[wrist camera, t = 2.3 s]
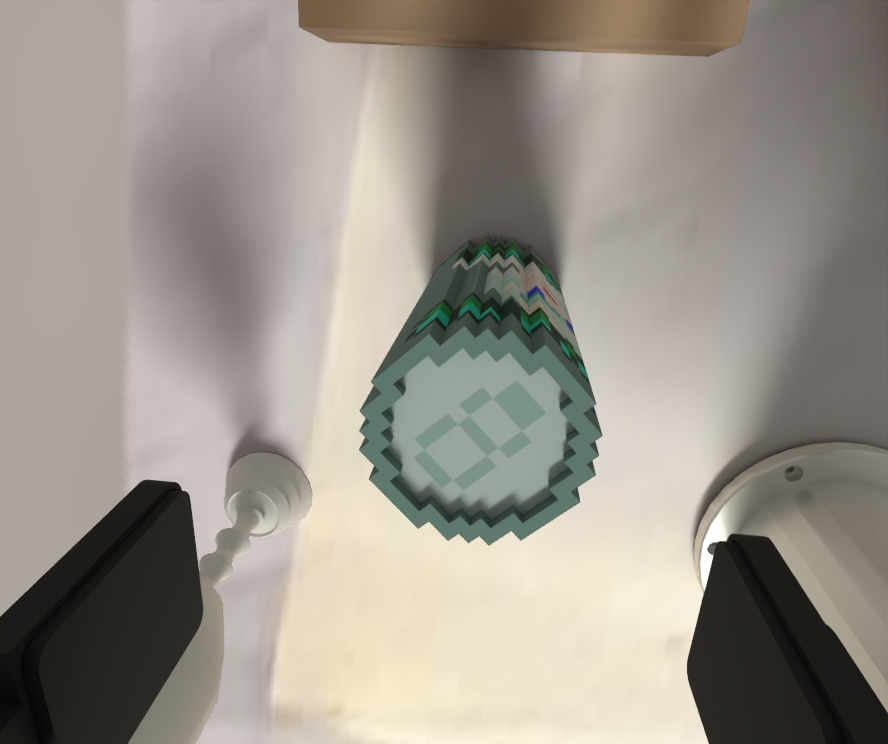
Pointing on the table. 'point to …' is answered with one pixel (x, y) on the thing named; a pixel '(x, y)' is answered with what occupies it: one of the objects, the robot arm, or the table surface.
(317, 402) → the table surface
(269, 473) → the chalice
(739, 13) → the walnut base
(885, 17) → the table surface
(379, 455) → the can
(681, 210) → the table surface
